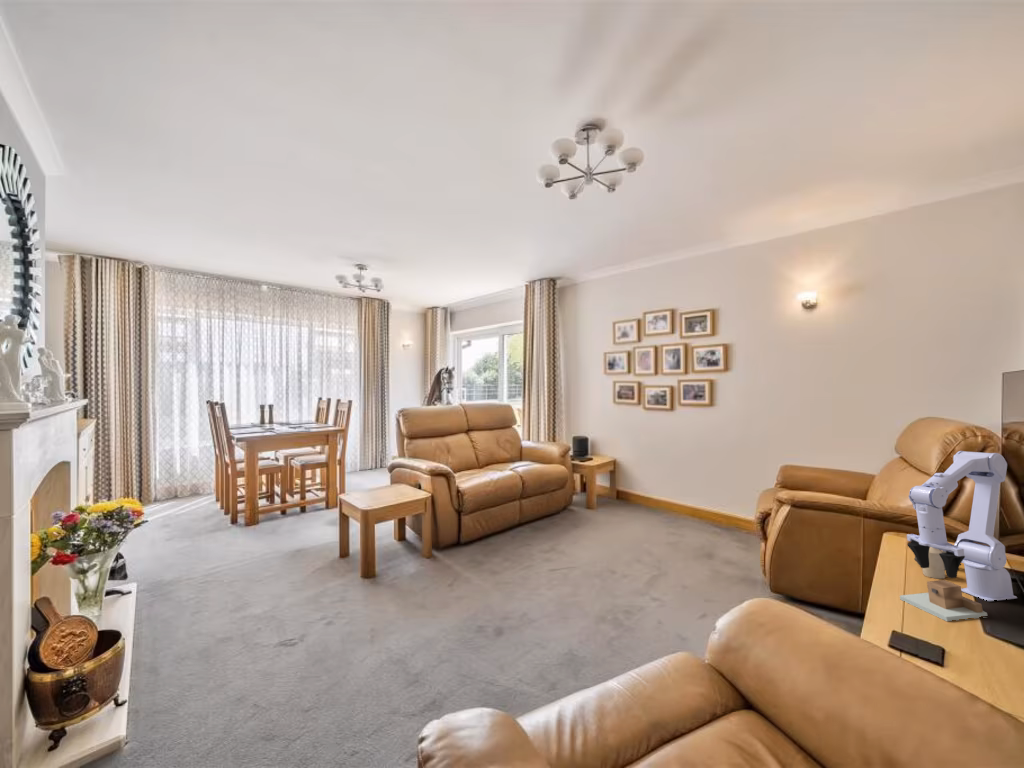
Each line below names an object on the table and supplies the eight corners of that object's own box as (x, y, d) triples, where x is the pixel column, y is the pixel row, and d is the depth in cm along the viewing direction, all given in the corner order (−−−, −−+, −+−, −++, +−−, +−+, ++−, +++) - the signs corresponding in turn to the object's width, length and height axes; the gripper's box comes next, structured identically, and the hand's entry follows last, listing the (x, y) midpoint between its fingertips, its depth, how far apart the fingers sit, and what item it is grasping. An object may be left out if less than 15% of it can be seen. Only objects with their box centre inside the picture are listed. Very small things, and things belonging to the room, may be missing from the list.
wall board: (936, 595, 130) (935, 584, 130) (987, 617, 116) (985, 604, 117) (900, 599, 129) (898, 588, 130) (947, 621, 116) (945, 609, 116)
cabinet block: (947, 600, 125) (944, 579, 125) (963, 607, 120) (960, 586, 120) (927, 602, 124) (925, 581, 125) (944, 609, 120) (941, 588, 120)
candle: (950, 579, 140) (945, 548, 140) (931, 579, 141) (926, 549, 141) (937, 572, 145) (932, 543, 146) (918, 572, 146) (914, 543, 147)
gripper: (895, 521, 132) (901, 564, 131) (945, 535, 118) (952, 583, 117) (916, 519, 133) (922, 562, 132) (968, 532, 118) (975, 581, 117)
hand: (938, 572), depth 124 cm, fingers open, 7 cm apart
